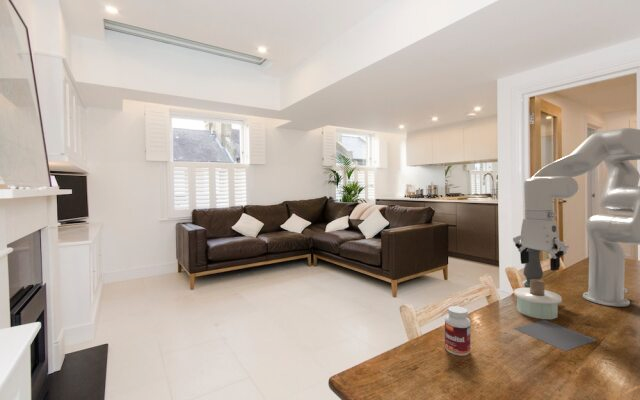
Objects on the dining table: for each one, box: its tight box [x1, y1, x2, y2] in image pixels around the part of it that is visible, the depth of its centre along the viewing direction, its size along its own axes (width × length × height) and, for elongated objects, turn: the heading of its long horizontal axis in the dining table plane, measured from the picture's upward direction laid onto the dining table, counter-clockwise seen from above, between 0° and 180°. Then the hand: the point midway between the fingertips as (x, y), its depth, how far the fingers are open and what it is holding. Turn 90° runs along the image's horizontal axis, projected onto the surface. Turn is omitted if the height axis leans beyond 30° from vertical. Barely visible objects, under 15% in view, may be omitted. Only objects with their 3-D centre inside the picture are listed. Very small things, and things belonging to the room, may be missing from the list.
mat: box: [513, 319, 598, 352], centre depth 89 cm, size 14×14×1 cm
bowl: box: [516, 297, 559, 320], centre depth 105 cm, size 11×11×6 cm
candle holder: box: [522, 248, 544, 288], centre depth 118 cm, size 6×6×25 cm
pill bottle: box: [444, 305, 471, 357], centre depth 82 cm, size 6×6×11 cm
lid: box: [513, 279, 563, 305], centre depth 104 cm, size 13×13×5 cm
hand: (539, 266), depth 104 cm, fingers open, 9 cm apart
